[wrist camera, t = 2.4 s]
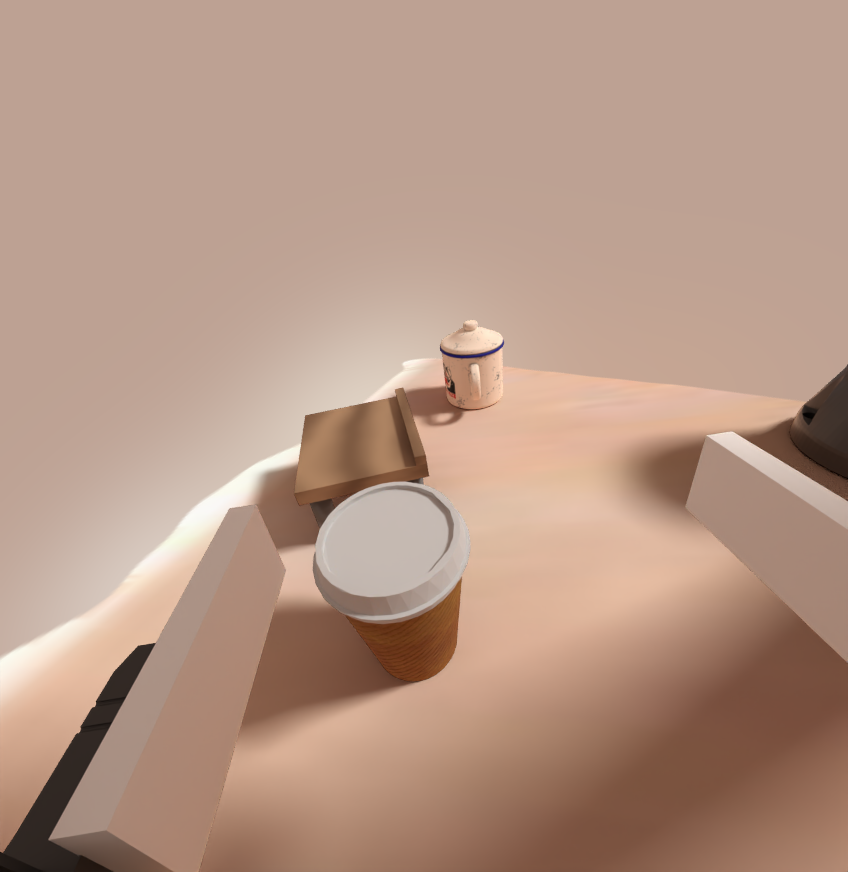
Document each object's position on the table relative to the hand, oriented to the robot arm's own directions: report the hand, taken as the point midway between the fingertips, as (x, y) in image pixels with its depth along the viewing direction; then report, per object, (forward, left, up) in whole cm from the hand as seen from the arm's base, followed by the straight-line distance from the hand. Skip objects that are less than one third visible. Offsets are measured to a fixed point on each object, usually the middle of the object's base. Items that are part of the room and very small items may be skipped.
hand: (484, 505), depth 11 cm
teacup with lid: (-11, -41, -21) cm, 47 cm away
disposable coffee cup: (+4, -8, -21) cm, 22 cm away
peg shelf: (+6, -26, -20) cm, 33 cm away
